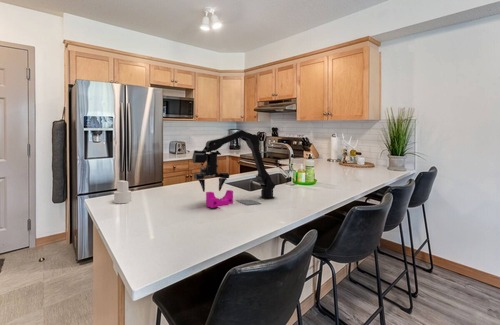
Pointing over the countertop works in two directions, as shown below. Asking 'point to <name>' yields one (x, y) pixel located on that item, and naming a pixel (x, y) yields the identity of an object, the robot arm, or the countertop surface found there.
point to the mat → (248, 202)
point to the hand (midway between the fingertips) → (211, 191)
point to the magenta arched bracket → (215, 202)
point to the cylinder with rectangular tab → (122, 192)
